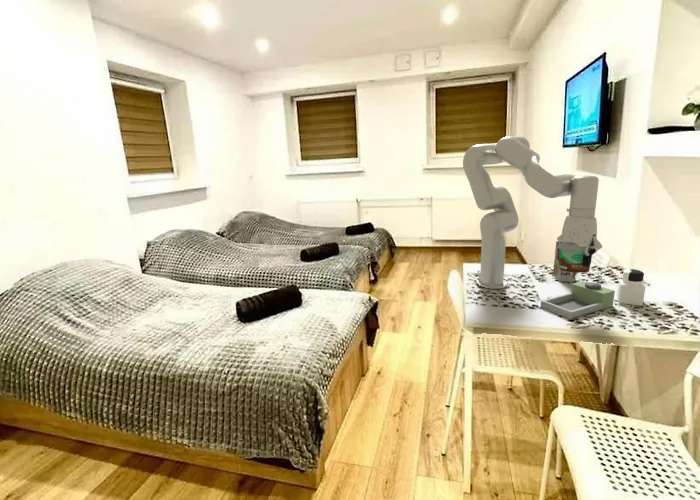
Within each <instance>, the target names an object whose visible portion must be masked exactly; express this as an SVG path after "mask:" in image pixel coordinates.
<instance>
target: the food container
mask: <svg viewBox="0 0 700 500" xmlns="http://www.w3.org/2000/svg"><path fill="white" fill-rule="evenodd" d="M594 247H595V246H592V248H594ZM557 248H559V254H560V270H563V271H567V272H575V273H576V274H578V273H579V274H581V273H582V274H583V273H588V272H590V269H591V265H590V266H586V267H583V266H582V263H583V256H584V255H585V252H584V251H585V248H581V247H578V246H577V245H575V244H564V243H560V242H559V244H558V247H557ZM588 250H591V247H589V248H588Z"/></svg>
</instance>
